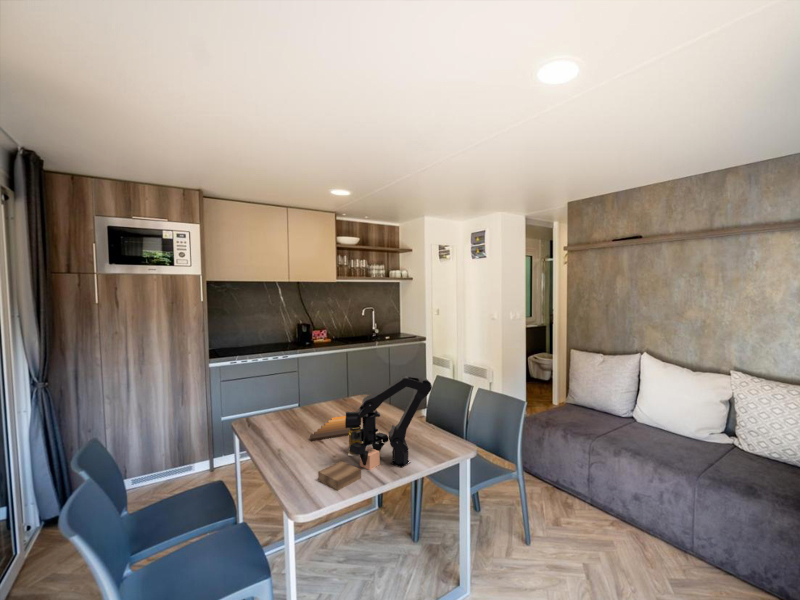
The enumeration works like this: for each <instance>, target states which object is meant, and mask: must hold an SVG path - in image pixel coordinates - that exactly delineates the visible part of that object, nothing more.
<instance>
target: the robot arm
mask: <svg viewBox="0 0 800 600" xmlns="http://www.w3.org/2000/svg"><path fill="white" fill-rule="evenodd" d="M405 388H410V389H413V394H412V397H411V399H410V400H409V403H408V404H407V406H406V407H405V410H404V413H403V414H402V416H401V418H400V420H399V422H398V423H397V424H396V425H394V424H392V425H391V428H390V429H389V431H388V434H385V433H383V432H380V431H379V429H378V428H377V418H380V417H381V414H380V412H379V411H378V410H377V409H378V408H379V407H380V406H381V405H382V404H383V403H384V402H385V401H386V400H388V399H389V398H391V397H392V396H394V395H396V394H398V393H400V392H401V391H402V390H404V389H405ZM432 389H433V386H432V383H431V382H430V381H429V379H427V378H426V377H424V376H423V377H411V376H407V375H402V376H401V378H399V379H397V381H394V382H392V383H391V384H389V385H388V386H386V387H385V388H383V389H382V390H380V391H378V392H374V393H372V394H369V395H366V396H364V398H363V399H362V401H361V402H362V403H361V405H360V407H359V408H358V410H357V411H346V412H345V416H346V418H345V428H359V427H361V426H362V427H361V430H360V431H358V432H356V431H353V432H351V439H352V440H354V441H356V440H360V441H361V442H362V444H360V443H358V442H356V443H354V444H351V445H350V446H349V445H348V452H349V451H350V452H352V453H355V454H357V455H356V456H359V458H360V457H361V460H362V463H363V465H364V466H365V465H366V462H367V457H368V451H366V449H367V447H369V446H372V449H375V450H377V451H379V454H380V452H381V451H382V449H383V447H384V446H385V443H387V442H389V444H390V446H391V448H392V452H391V453H392V454H391V455H392V456H391V457H392V458H391V461H390V464H391V465H395V466H396V465H397V467H399V466H400V467H399V468H403V467H405V466H407V465H408V464H407V463H408V462H409V461H410V460H409V445H408V443H407V441H406V435H407V430H408V427H409V426H410V423H411V422H412V420H413V418H414V416H415V415H416V413H417V411H418V408H419V406H420V405H421V403H422V401H423V400H424V399H425V398H426V397H427V396H428V395H429V394H430V392H431V391H432ZM406 464H407V465H406ZM404 465H405V466H404ZM402 466H403V467H402Z"/></svg>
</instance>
